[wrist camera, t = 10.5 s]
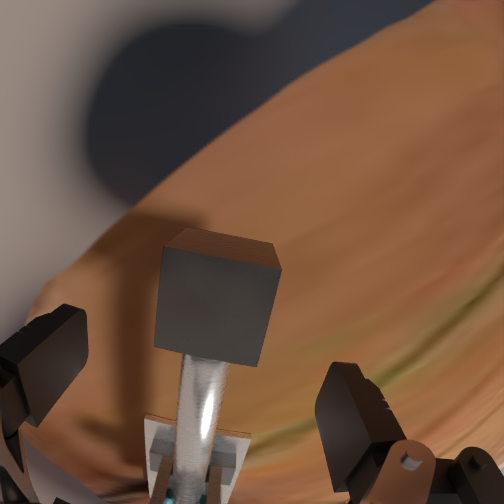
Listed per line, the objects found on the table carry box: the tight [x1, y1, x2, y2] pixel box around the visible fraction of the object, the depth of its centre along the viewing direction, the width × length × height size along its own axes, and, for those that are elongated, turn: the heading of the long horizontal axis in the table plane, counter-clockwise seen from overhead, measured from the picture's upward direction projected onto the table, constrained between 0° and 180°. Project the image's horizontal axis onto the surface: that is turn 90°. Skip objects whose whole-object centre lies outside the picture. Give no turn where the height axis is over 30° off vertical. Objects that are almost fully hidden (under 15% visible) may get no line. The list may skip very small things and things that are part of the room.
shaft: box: [154, 227, 282, 504], centre depth 18 cm, size 28×5×5 cm, turn 168°
